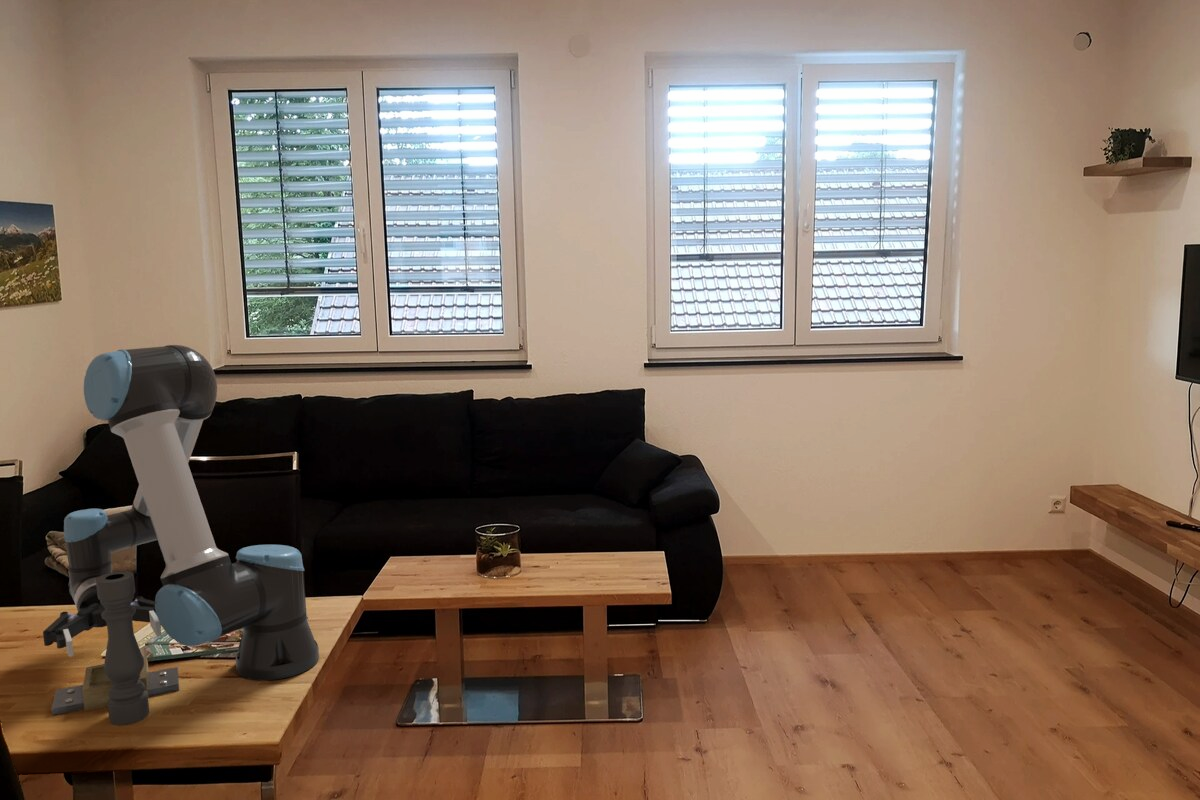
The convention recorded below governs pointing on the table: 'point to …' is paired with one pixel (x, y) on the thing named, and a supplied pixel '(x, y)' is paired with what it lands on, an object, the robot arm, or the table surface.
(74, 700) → the square socket fixture
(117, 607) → the candle holder
